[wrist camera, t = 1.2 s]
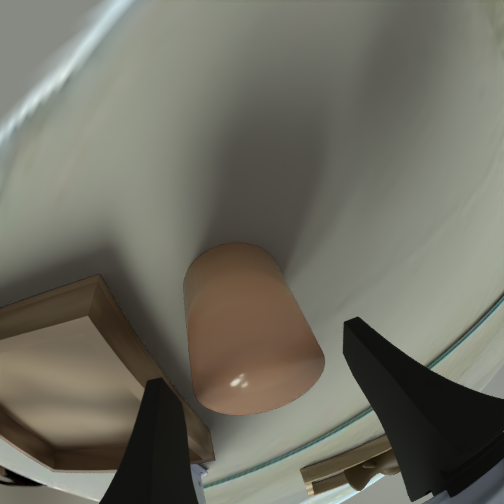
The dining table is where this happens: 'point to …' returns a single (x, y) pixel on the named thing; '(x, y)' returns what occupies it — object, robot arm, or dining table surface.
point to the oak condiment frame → (340, 466)
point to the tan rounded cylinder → (246, 333)
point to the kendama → (371, 469)
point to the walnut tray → (77, 380)
